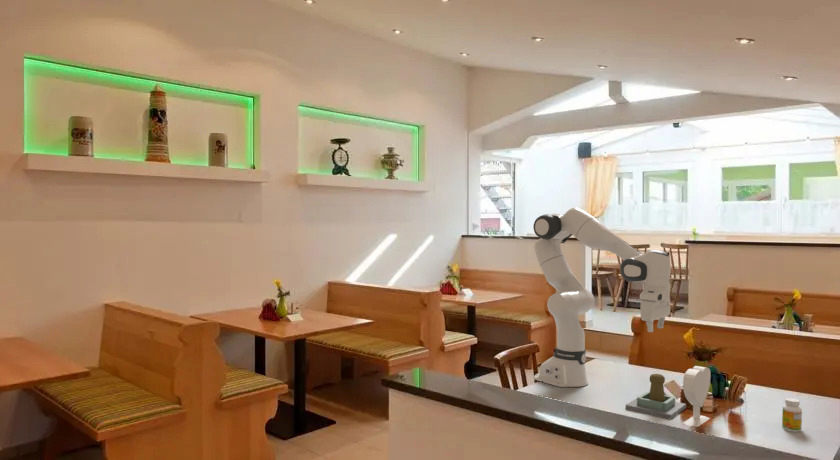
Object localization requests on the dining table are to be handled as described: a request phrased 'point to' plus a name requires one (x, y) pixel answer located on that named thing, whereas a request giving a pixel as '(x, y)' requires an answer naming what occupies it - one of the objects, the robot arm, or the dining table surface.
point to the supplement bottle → (792, 415)
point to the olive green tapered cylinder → (657, 388)
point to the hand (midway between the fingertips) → (655, 330)
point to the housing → (656, 406)
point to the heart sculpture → (696, 392)
